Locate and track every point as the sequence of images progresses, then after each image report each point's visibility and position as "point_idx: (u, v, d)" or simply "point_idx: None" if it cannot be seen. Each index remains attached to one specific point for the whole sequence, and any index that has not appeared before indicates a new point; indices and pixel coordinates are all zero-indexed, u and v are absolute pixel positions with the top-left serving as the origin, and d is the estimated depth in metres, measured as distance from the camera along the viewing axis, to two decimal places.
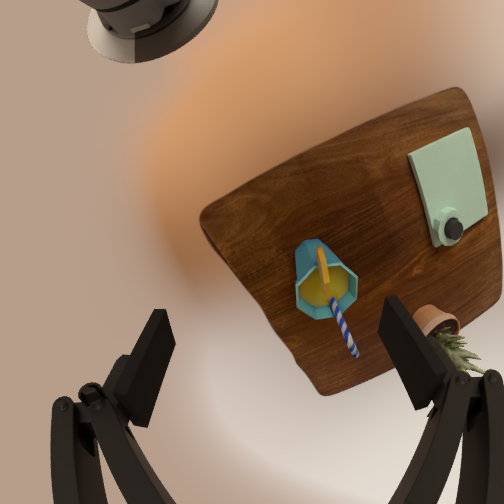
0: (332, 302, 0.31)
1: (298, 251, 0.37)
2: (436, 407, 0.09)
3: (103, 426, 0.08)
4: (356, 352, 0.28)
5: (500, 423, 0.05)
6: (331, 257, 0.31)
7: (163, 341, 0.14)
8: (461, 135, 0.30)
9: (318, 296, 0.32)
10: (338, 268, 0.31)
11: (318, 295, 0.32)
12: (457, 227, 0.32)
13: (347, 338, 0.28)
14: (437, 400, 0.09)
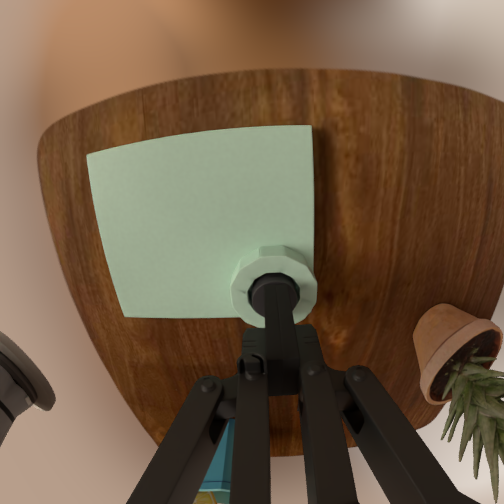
0: None
1: None
2: (301, 401, 0.11)
3: (249, 398, 0.09)
4: None
5: (392, 419, 0.07)
6: None
7: None
8: (96, 187, 0.17)
9: None
10: (213, 478, 0.21)
11: None
12: None
13: None
14: None
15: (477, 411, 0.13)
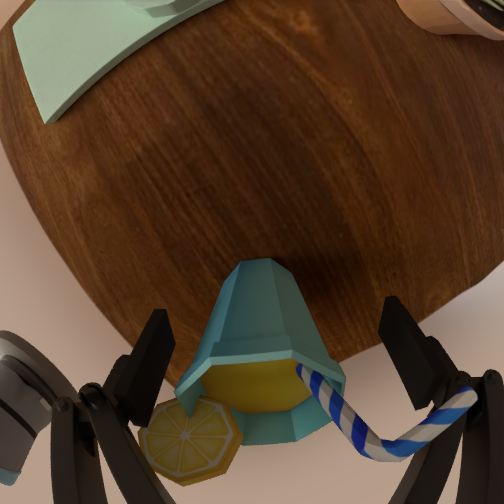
0: (304, 382, 0.11)
1: None
2: (436, 407, 0.09)
3: (103, 426, 0.08)
4: (453, 417, 0.05)
5: (500, 423, 0.05)
6: None
7: (163, 341, 0.14)
8: (19, 35, 0.10)
9: (294, 385, 0.12)
10: None
11: (291, 385, 0.12)
12: None
13: (375, 459, 0.06)
14: (437, 400, 0.09)
15: None
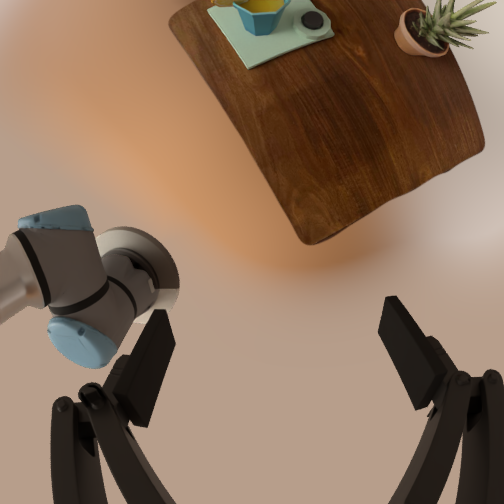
0: None
1: (251, 30, 0.31)
2: (436, 407, 0.09)
3: (103, 426, 0.08)
4: None
5: (500, 423, 0.05)
6: None
7: (163, 341, 0.14)
8: (217, 17, 0.31)
9: (272, 3, 0.24)
10: None
11: (271, 2, 0.24)
12: (310, 17, 0.28)
13: None
14: (437, 400, 0.09)
15: (436, 24, 0.21)
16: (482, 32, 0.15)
